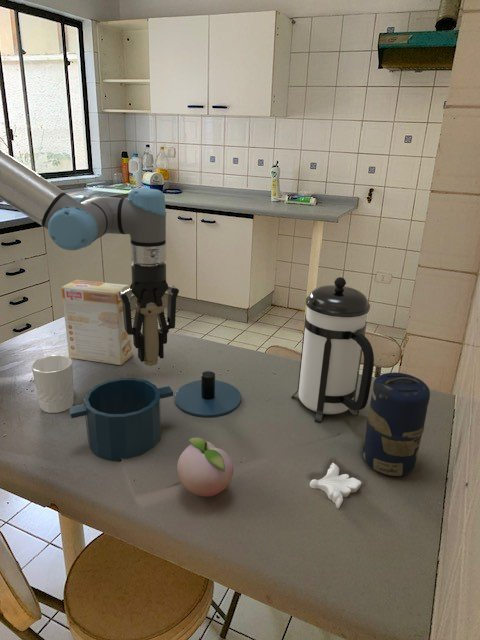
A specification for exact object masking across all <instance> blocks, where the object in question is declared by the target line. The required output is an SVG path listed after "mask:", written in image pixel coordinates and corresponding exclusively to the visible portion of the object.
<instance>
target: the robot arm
mask: <svg viewBox="0 0 480 640" xmlns="http://www.w3.org/2000/svg"><path fill="white" fill-rule="evenodd" d="M0 200H1V201H2V202H5V203H6V204H7V205H9V206H10V207H12V208H14V209H15V210H17V211H18V212H20V213H22V214H23V215H24V216H26V217H28V218H30V219H31V220H32V221H34V222H36V224H39V225H40V226H42V227H43V228H45V229H46V230H47V231H48V235H49V237H50V238H51V240H52V241H53V243H54V244H55V245H56V246H57V247H59V248H60V249H63V250H65V251H78V250H82V249H84V248H87V247H89V246H91V245H92V244H93V243H94V242H95V241H96V240H98V239H100V238H102V237H103V236H105V235H107V234H114V235H129V238H130V261H132V263H131V265H130V267H131V270H130V271H131V284H130V285H129V289H128V290H126V291H124V292H123V291H120V292H119V296H120V298H121V300H122V305H123V317H124V328H125V331H126V332H127V334H128V335H132V345H133V347H134V348H135V349H137V358H138V359H139V361H140V362H142V363H144V336H143V334H142V326H143V317H144V314H141V313H140V309H141V308H146V305H147V304H148V303H155V304H156V305H157V306H163V304H164V302H163V300H162V298H163V297H164V295H165V294H167V305H166V306H167V307H166V315H165V310H164V311H163V312H161V313H159V314H158V317H157V320H158V327H159V328H158V334H159V354H158V358H159V359H164V357H165V356H164V354H165V353H164V351H165V350H164V348H165V347H164V346H165V345H166V344H167V343H168V333H169V332H170V330H171V329H172V330H173V329H175V327H176V314H177V313H176V312H177V298H178V295H179V292H180V290H179V288H178V287H177V286H176V285H168V282H167V263H165V261H166V260H167V239H166V238H167V233H166V232H167V222H166V221H167V211H166V197H165V194H164V192H163V191H161V189H156V188H140V187H139V188H132V189H130V190H129V191H128V196H127V197H111V196H110V197H109V196H97V195H91V194H89V195H76V196H74V197H73V196H71V195H70V194H68V193H67V192H65V191H64V190H62V189H60V188H59V187H58V186H57V185H55V184H53V183H52V182H50V181H49V180H47V179H46V178H44V177H43V176H41V175H40V174H38V173H37V172H35V171H34V170H32V169H31V168H29V167H28V166H26V165H24V164H23V163H21V162H20V161H18V160H17V159H16V158H14V157H13V156H11V155H9V154H8V153H6V152H5V151H4V150H2V149H0ZM132 295H133V296H134V297H135V298H136V303H137V305H138V306H139V308H140V309H139V312H136V311H135V314H134V319H133V318H132V309H131V307H132V306H131V299H132ZM129 300H130V302H129ZM132 319H133V321H132Z"/></svg>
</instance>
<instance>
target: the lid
mask: <svg viewBox="0 0 480 640" xmlns="http://www.w3.org/2000/svg"><path fill="white" fill-rule="evenodd" d="M241 402H242V395H241V392H240V390H239V389H237V387H235V386H234V385H232V384H230V383H228V382H225V381H222V380H216V373H215V372H213V371H210V370H206V371H202V372H201V377H200V379H199V380H195V381H191V382H188V383H185V384H183V385H182V386H180V387H179V388H178V389H177V390H176V391H175V393H174V404H175V406H176V407H177V408H178V409H179V410H180V411H181V412H183V413H185V414H188V415H189V416H194V417H199V418H216V417H221V416H225V415H228V414H230V413H233V412H234V411H235V410H236V409H238V407H239V406H240V405H241Z"/></svg>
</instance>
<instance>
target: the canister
mask: <svg viewBox="0 0 480 640" xmlns="http://www.w3.org/2000/svg"><path fill="white" fill-rule="evenodd" d="M374 379H375V380H374V381H373V384H372V391H371V396H370V404H369V410H368V416H367V421H366V427H365V436H364V444H363V447H362V448H363V449H362V456H363V459H364V461H365V463H366V464H367V465H368V466H369V467H370V468H371V469H373V470H374V471H376V472H378V473H380V474H382V475H386V476H390V477H402V476H407V475H408V474H410V473H411V472H412V471H413V470H414V469H415V467H416V464H417V459H418V455H419V451H420V445H421V442H422V436H423V433H424V431H425V424H426V418H427V413H428V408H429V403H430V398H431V391H430V387H429V386H428V384H427V383H425V382H424V381H423V380H421V379H420V378H419V377H416V376H414V375H411V374H408V373H405V372H385V373H383V374H380V375H378V376H377V377H376V378H374Z"/></svg>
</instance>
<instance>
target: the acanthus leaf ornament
mask: <svg viewBox="0 0 480 640" xmlns="http://www.w3.org/2000/svg"><path fill="white" fill-rule="evenodd" d="M361 485H362V481H361V480H359V479H357V478H355V477H350V475H349V474H348V473H344V474H343V473H342V474H340V468H339V466H338V465H337V464H336V463H334V462H332V463H331V464H330V466H329V468H328V469H327V472H326V475H324V476H323V477H322V478H320V479H315V478H313V479H311V480H310V482H309V487H310V488H311V489H315V490H321V491H323V492H324V493H325V494H326V495H327V498H328V500H330V501H332V503H333V504H335V507H336V509H338V510H339V509H340V508H341V506H342V505H343V503H344V502H343V501H344V498H347V497H348V496H349V495H350V494H352V493H356V492H357V491H358V490H359V489H360V487H361Z"/></svg>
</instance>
